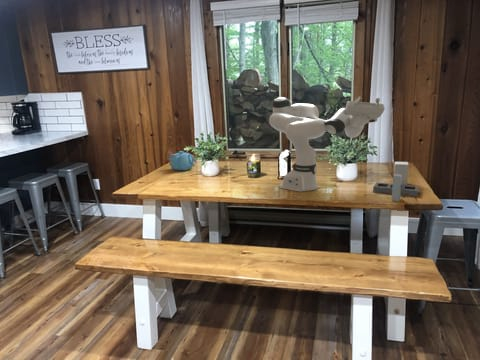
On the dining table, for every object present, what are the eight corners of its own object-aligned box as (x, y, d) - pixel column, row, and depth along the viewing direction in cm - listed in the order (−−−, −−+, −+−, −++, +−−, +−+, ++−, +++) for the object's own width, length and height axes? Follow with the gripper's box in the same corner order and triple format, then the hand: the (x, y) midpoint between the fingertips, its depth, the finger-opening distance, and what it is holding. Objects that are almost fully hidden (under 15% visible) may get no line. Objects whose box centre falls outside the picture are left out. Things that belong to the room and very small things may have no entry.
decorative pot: (173, 173, 272) (172, 154, 268) (169, 168, 286) (167, 150, 282) (196, 170, 277) (194, 151, 273) (190, 165, 292) (189, 148, 288)
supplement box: (407, 186, 219) (408, 164, 216) (393, 185, 222) (394, 164, 219) (406, 182, 226) (408, 161, 223) (393, 182, 229) (394, 161, 225)
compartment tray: (373, 192, 212) (373, 186, 211) (376, 187, 220) (376, 182, 219) (416, 196, 201) (417, 191, 200) (418, 191, 209) (419, 186, 209)
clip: (391, 200, 197) (393, 175, 194) (392, 198, 200) (394, 174, 197) (399, 201, 195) (400, 176, 192) (400, 199, 199) (401, 174, 195)
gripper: (341, 110, 216) (349, 92, 204) (377, 113, 216) (387, 95, 205) (342, 118, 212) (350, 100, 201) (379, 122, 213) (389, 104, 201)
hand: (369, 98), depth 203 cm, fingers open, 8 cm apart
